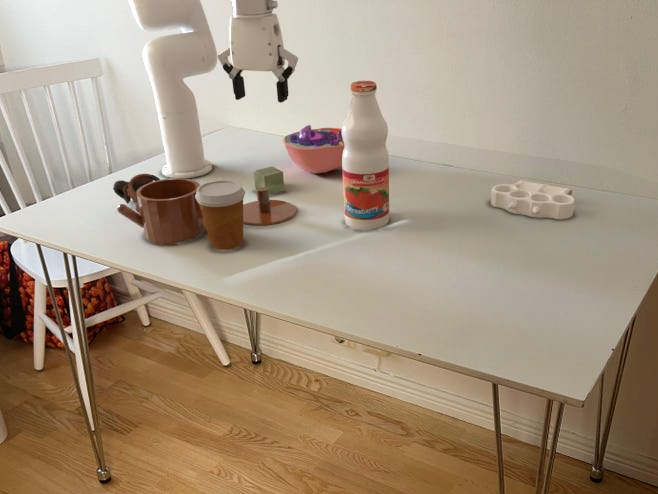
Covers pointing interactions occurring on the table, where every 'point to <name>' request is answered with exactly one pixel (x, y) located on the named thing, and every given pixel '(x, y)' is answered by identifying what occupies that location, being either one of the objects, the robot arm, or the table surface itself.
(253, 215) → the lid
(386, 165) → the fruit juice
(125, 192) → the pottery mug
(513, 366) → the table surface
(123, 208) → the teapot spout handle
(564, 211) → the knuckle duster
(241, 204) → the disposable coffee cup
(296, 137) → the cell model
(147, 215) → the brown hollow round container
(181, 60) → the robot arm
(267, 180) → the tea block
